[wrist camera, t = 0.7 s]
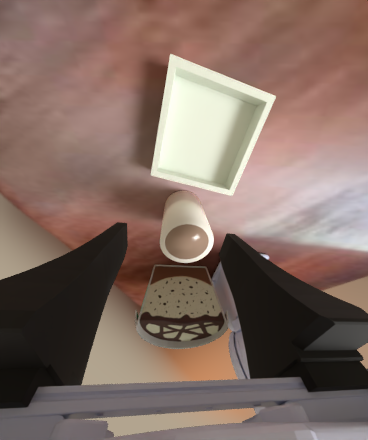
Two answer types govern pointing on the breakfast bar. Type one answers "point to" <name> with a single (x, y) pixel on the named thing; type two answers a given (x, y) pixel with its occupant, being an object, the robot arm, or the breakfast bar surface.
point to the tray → (207, 127)
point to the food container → (181, 308)
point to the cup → (185, 228)
